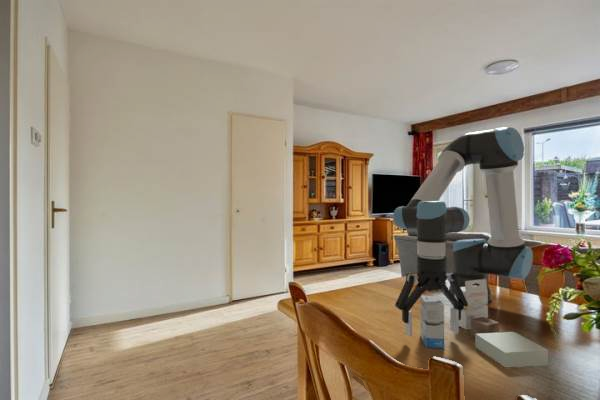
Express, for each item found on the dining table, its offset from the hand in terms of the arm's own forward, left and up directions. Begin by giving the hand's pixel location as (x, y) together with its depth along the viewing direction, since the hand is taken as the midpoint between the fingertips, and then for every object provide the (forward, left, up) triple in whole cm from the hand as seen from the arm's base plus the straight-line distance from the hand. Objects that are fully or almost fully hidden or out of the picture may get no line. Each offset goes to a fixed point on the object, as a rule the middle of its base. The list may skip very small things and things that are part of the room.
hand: (431, 333), depth 92 cm
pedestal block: (-15, +10, -3) cm, 19 cm away
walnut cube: (-16, 0, -2) cm, 16 cm away
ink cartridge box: (-18, -9, -3) cm, 20 cm away
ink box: (0, 0, -3) cm, 3 cm away
